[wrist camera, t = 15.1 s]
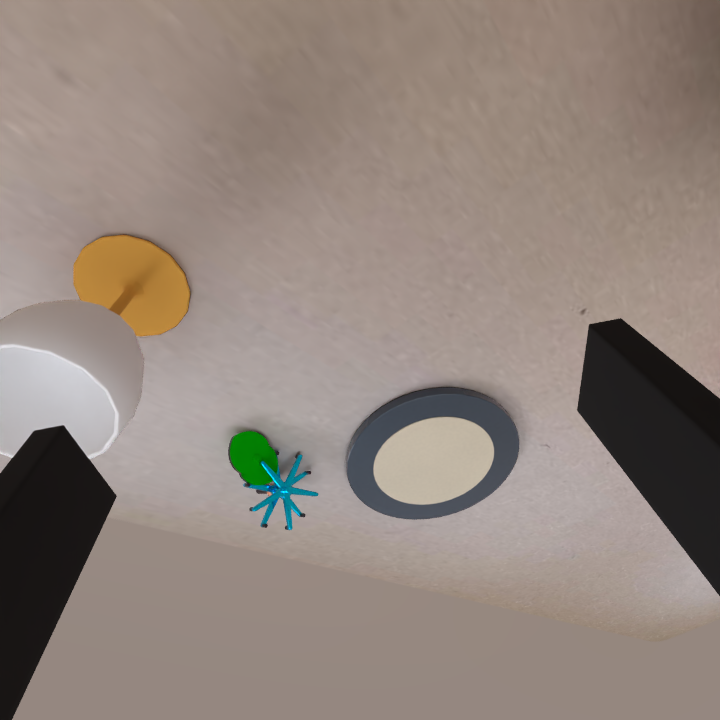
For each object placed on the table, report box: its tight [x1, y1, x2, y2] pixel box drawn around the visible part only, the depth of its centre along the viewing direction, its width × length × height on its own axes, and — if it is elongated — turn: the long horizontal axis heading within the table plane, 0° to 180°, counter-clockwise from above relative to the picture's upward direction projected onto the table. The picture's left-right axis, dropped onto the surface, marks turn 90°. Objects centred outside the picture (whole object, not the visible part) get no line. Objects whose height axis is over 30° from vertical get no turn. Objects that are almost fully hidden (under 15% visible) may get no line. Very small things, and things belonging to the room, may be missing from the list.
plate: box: [346, 387, 519, 519], centre depth 51 cm, size 20×20×1 cm
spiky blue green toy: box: [228, 431, 318, 530], centre depth 48 cm, size 12×7×8 cm
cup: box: [0, 235, 190, 460], centre depth 30 cm, size 9×9×16 cm
